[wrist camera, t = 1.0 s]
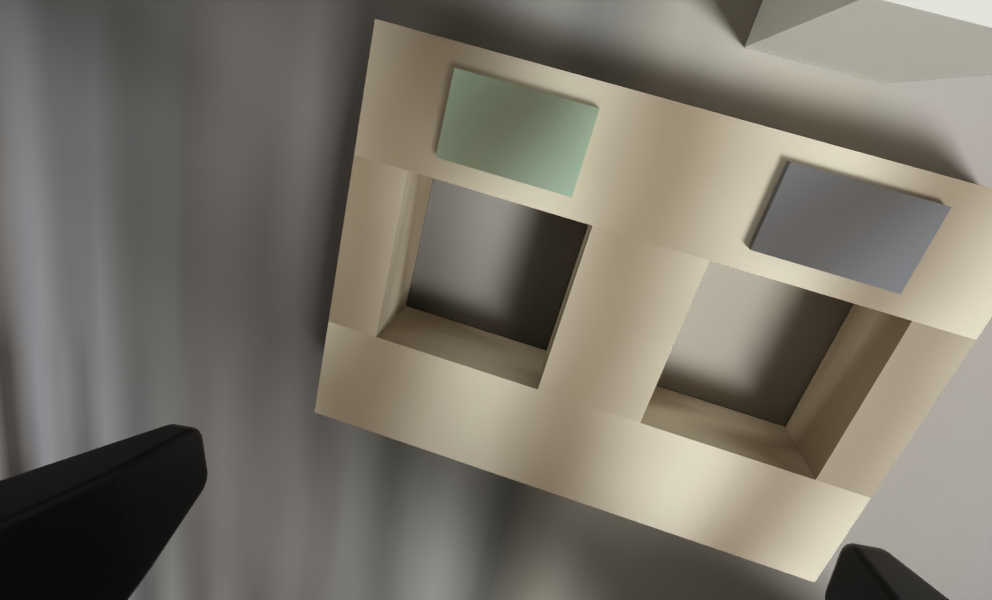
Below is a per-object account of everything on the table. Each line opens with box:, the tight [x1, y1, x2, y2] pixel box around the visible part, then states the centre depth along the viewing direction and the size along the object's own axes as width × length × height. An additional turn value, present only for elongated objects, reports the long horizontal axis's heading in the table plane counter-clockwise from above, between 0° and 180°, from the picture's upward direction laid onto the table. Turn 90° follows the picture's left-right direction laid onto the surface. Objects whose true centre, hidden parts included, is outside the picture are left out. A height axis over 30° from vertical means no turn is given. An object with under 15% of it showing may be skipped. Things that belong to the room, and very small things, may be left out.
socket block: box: [315, 19, 992, 582], centre depth 18 cm, size 18×13×3 cm
